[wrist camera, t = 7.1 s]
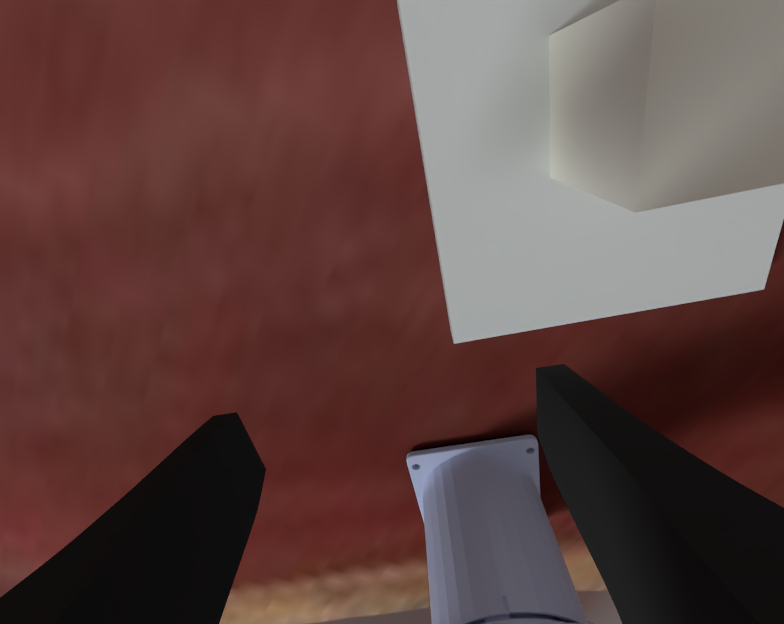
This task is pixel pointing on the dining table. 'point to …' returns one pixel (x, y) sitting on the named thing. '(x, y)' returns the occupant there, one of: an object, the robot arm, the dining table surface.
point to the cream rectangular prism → (669, 101)
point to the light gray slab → (549, 188)
